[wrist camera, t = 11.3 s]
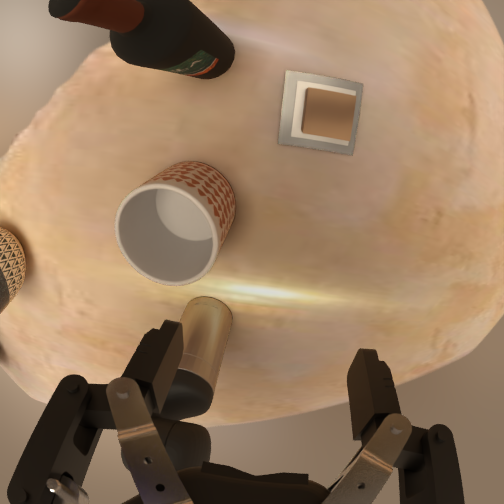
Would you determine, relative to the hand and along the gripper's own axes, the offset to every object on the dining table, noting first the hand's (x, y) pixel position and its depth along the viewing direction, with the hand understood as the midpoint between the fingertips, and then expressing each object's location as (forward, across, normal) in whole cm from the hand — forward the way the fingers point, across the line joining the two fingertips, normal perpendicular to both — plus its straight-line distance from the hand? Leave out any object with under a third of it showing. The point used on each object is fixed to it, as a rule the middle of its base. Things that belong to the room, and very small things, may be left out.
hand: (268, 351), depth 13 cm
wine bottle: (+33, +12, -17) cm, 39 cm away
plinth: (+33, -4, -10) cm, 35 cm away
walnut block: (+27, -4, -10) cm, 29 cm away
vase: (+34, +13, +6) cm, 37 cm away
